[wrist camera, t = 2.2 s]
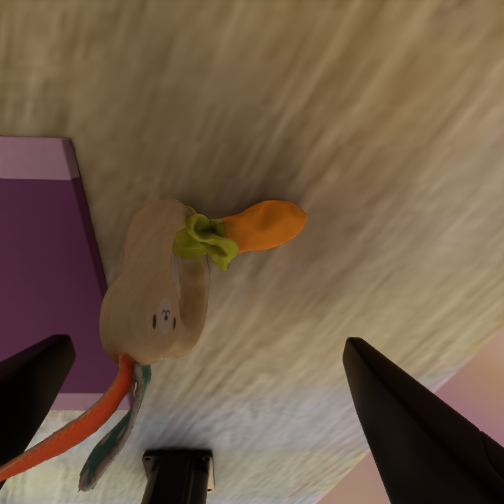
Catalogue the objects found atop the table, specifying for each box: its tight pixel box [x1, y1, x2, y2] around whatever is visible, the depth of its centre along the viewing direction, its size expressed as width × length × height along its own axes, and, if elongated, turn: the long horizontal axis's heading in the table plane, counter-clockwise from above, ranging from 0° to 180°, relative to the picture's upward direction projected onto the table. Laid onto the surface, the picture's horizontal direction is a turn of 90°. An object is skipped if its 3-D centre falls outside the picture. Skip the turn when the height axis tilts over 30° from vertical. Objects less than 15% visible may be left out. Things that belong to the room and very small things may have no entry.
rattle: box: [0, 199, 308, 492], centre depth 10 cm, size 8×8×12 cm
